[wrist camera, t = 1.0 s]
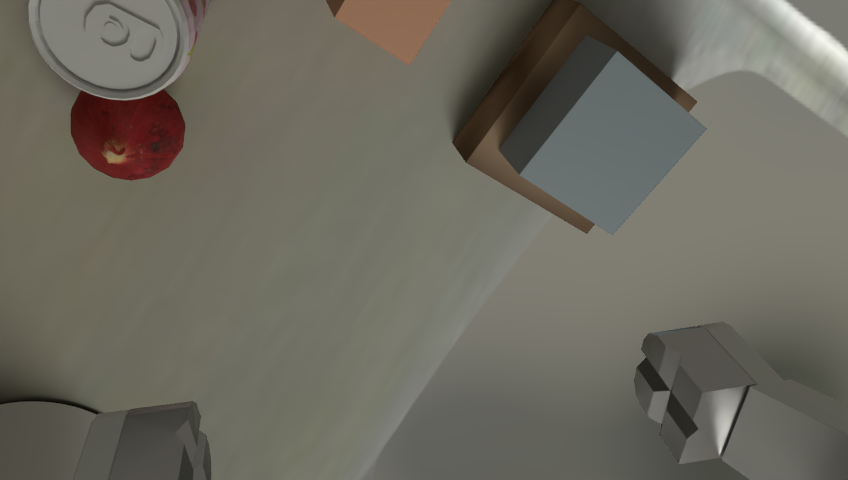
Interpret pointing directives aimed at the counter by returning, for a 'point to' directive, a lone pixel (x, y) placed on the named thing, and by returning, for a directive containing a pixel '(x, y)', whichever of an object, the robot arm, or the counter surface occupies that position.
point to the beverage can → (116, 42)
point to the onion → (128, 134)
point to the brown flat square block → (527, 82)
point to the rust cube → (391, 22)
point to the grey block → (600, 136)
